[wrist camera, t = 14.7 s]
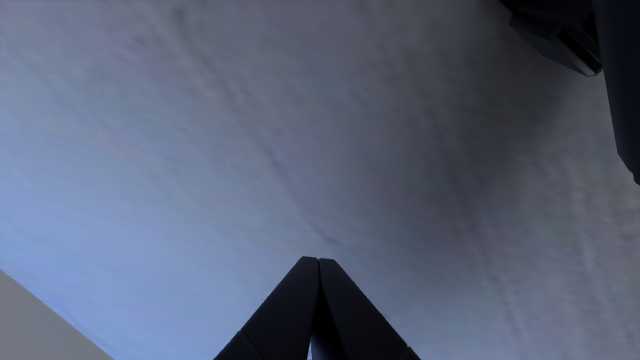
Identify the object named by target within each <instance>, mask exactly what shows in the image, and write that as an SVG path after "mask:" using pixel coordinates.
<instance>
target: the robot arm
mask: <svg viewBox="0 0 640 360" xmlns="http://www.w3.org/2000/svg"><path fill="white" fill-rule="evenodd" d="M497 1H498V2H499V3H500V4H502V5H503V6H504V7H505V8H506V9H507V10H508V11H509V12H510V13H511V14H512V16H511V17H510V18H509V25H510V26H511V27H512V28H513V29H514V30H516V31H517V32H518V33H519V34H520V35H521V36H522V37H523V38H524V39H525V40H526V41H528V42H529V43H530V44H531V45H532V46H533V47H534V48H535V49H536V50H537V51H539V52H540V53H541V54H542V55H543V56H545V57H547V58H549V59H552V60H554V61H556V62H558V63H560V64H562V65H564V66H566V67H568V68H570V69H572V70H575V71H577V72H579V73H581V74H583V75H585V76H587V77H588V76H596V75H597V74H598V73H600V72H601V71H602V70H604V76H605V82H606V88H607V94H608V99H609V105H610V111H611V117H612V123H613V129H614V134H615V140H616V146H617V152H618V155H619V156H620V158H621V159H622V161H623V162H624V164H625V165H626V167H627V168H628V170H629V171H630V172H632V173H633V177H634V181H635V182H636V183H637V184H638V185H640V0H497ZM310 341H311V353H312V360H421V359H420V358H419V357H418V356H417V354H416V353H415V352H414V351H413V350H412V349H411V347H409V346H408V347H407V344H406V342H405V341H404V340H403V339H402V338H401V337H400V335H399V334H398V333H397V332H396V331H395V330H394V328H393V327H392V326H391V325H390V324H389V323H388V321H387V320H386V319H385V318H384V317H383V316H382V314H381V313H380V312H379V311H378V310H377V309H376V307H375V306H374V305H373V304H372V303H371V302H370V300H369V299H368V298H367V297H366V296H365V295H364V293H363V292H362V291H361V290H360V289H359V288H358V286H357V285H356V284H355V283H354V282H353V281H352V279H351V278H350V277H349V276H348V275H347V274H346V272H345V271H344V270H343V269H342V268H341V267H340V265H339V264H338V263H337V262H336V261H335V260H333V259H325V258H320V259H319V260H318V259H317V258H315V257H306V256H303V257H301V258H300V259H299V260H298V262H297V263H296V264H295V265H294V266H293V268H292V269H291V270H290V271H289V272H288V274H287V275H286V276H285V277H284V278H283V279H282V281H281V282H280V283H279V284H278V285H277V287H276V288H275V289H274V290H273V291H272V293H271V294H270V295H269V296H268V297H267V299H266V300H265V301H264V302H263V303H262V304H261V306H260V307H259V308H258V309H257V310H256V312H255V313H254V314H253V315H252V316H251V318H250V319H249V320H248V321H247V322H246V323H245V325H244V326H243V327H242V328H241V330H240V331H238V332H237V334H236V335H235V336H234V337H233V338H232V339H231V341H230V342H229V343H228V344H227V345H226V346H225V347H224V348H223V350H222V351H221V352H220V353H219V354H218V355H217V356H216V357H215V358H214V359H213V360H307V357H308V352H309V346H310Z"/></svg>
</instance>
